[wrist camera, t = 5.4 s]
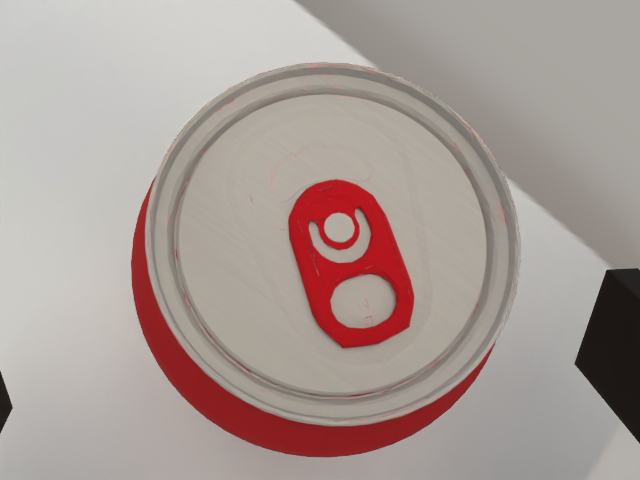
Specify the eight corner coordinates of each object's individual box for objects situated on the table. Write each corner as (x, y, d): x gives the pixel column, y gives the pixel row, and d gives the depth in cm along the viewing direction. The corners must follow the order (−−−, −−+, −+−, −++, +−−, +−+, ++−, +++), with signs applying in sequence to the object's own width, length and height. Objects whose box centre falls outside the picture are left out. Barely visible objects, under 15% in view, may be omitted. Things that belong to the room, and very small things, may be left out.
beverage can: (344, 226, 20) (465, -2, 8) (399, 388, 18) (635, 378, 7) (179, 271, 19) (60, 75, 7) (224, 448, 17) (163, 554, 6)
